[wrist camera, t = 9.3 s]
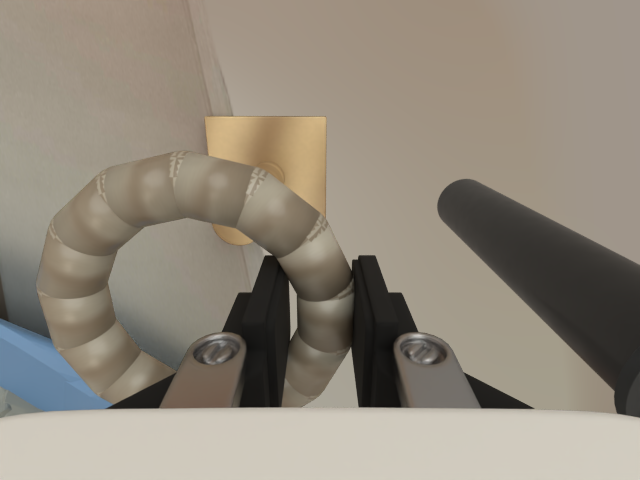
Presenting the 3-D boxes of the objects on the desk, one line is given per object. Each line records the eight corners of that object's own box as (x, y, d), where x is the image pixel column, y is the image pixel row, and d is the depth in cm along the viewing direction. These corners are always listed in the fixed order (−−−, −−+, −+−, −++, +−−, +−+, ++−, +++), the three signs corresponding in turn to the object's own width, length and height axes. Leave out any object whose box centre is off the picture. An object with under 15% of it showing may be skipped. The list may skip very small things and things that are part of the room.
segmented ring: (358, 148, 11) (365, 157, 9) (347, 407, 14) (350, 449, 12) (29, 145, 11) (-27, 154, 9) (100, 404, 14) (70, 445, 12)
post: (326, 116, 28) (329, 126, 16) (325, 227, 31) (327, 301, 20) (208, 116, 28) (130, 126, 16) (219, 227, 31) (160, 300, 20)
